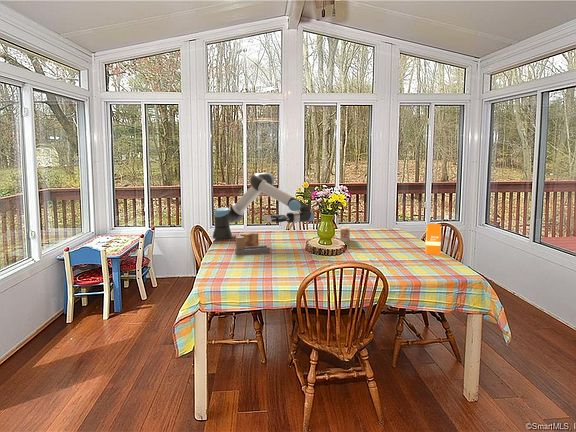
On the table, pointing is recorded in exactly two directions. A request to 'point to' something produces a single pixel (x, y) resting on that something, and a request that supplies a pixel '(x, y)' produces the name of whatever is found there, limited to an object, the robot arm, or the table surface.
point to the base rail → (249, 248)
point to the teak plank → (250, 239)
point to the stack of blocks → (345, 234)
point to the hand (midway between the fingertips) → (264, 219)
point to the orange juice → (433, 239)
